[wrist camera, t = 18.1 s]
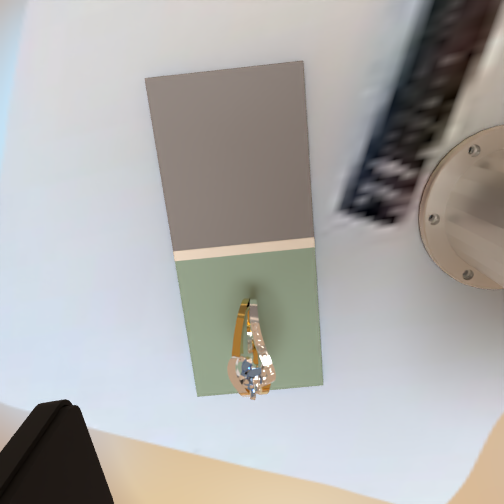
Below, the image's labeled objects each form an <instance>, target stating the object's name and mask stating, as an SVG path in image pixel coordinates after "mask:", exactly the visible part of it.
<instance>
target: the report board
mask: <svg viewBox="0 0 504 504" xmlns="http://www.w3.org/2000/svg"><path fill="white" fill-rule="evenodd" d="M145 84H146V90H147V96H148V102H149V108H150V114H151V120H152V126H153V132H154V138H155V144H156V150H157V156H158V162H159V168H160V174H161V180H162V186H163V192H164V198H165V204H166V210H167V216H168V222H169V228H170V234H171V240H172V246H173V254H174V260H175V264H176V270H177V276H178V282H179V288H180V294H181V300H182V306H183V312H184V318H185V324H186V330H187V336H188V342H189V348H190V354H191V360H192V366H193V372H194V378H195V385H196V391H197V397H200V396H211V395H222V394H233V393H238V391H237V390H236V389H235V387H234V386H233V384H232V383H231V381H230V379H229V376H228V372H227V366H228V362H229V360H230V359H231V357H232V347H233V338H234V331H235V325H236V320H237V315H238V311H239V308H240V305H241V303H242V300H243V299H244V298H252V299H257V309H258V319H259V325H260V330H261V334H262V337H263V341H264V344H265V347H266V349H267V352H268V354H269V357H270V359H271V361H272V364H273V366H274V369H275V373H276V378H275V381H274V382H272V383H271V386H270V390H276V389H287V388H298V387H309V386H319V385H323V375H322V359H321V342H320V326H319V310H318V294H317V278H316V262H315V243H314V229H313V213H312V197H311V181H310V165H309V149H308V132H307V116H306V100H305V84H304V68H303V61H296V62H287V63H278V64H269V65H260V66H251V67H242V68H233V69H224V70H215V71H206V72H197V73H188V74H179V75H171V76H162V77H153V78H145ZM243 352H244V354H245V355H246V356H248V334H247V316H246V320H245V326H244V335H243ZM258 363H259V364H260V365H261V364H262V362H261V360H260V357H259V355H258ZM241 365H242V362H239V363H238V370H239V373H240V371H241ZM255 391H256V387H255Z"/></svg>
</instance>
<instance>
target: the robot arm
mask: <svg viewBox="0 0 504 504" xmlns="http://www.w3.org/2000/svg"><path fill="white" fill-rule="evenodd" d="M470 147H471V152H470V153H468V150H469V148H470ZM431 215H432V218H431V219H430V220H428V219H429V217H430V216H431ZM419 225H420V232H421V237H422V240H423V243H424V246H425V249H426V251H427V252H428V254H429V255H430V257H431V258H432V260H433V261H434V262H435V263H436V264H437V265H438V266H439V267H440V268H441V269H442V270H443V271H444V272H445V273H447V274H448V275H449V276H451V277H452V278H453V279H455V280H457V281H459V282H461V283H463V284H465V285H469V286H472V287H476V288H481V289H493V290H494V289H504V125H500V126H496V127H493V128H489V129H486V130H483V131H481V132H479V133H477V134H475V135H473V136H471V137H469V138H467V139H466V140H464V141H463V142H462V143H460V144H459V145H458V146H456V147H455V148H453V149H452V150H451V151H450V152H449V153H448V154H447V156H446V157H445V158H444V159H443V160H442V161H441V162H440V163H439V165H438V166H437V168H436V169H435V171H434V172H433V173H432V175H431V177H430V179H429V181H428V183H427V185H426V188H425V190H424V193H423V197H422V201H421V204H420V214H419ZM464 271H465V272H464ZM463 272H464V273H463ZM0 504H114V502H113V498H112V495H111V493H110V490H109V487H108V484H107V482H106V479H105V476H104V473H103V471H102V468H101V465H100V462H99V460H98V457H97V454H96V452H95V448H94V446H93V443H92V440H91V437H90V435H89V432H88V429H87V426H86V424H85V421H84V418H83V415H82V412H81V410H80V408H79V407H78V406H77V405H72V403H71V402H70V401H69V400H66V399H65V400H59V401H52V402H46V403H41V404H38V405H37V406H36V407H35V408H34V409H33V411H32V412H31V413H30V415H29V416H28V417H27V419H26V420H25V421H24V422H23V424H22V425H21V426H20V428H19V429H18V430H17V431H16V433H15V434H14V436H13V437H12V438H11V439H10V441H9V442H8V443H7V445H6V446H5V447H4V448H3V450H2V451H1V452H0Z"/></svg>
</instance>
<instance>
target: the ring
mask: <svg viewBox="0 0 504 504" xmlns="http://www.w3.org/2000/svg"><path fill="white" fill-rule="evenodd" d="M246 316H247V334H248V356H246V355H245V354H244V352H243V335H244V326H245V320H246ZM258 355H259V357H260V360H261V362H262V364H261V365H260V364H259V363H258ZM239 362H242V365H241V371H240V373H239V370H238V363H239ZM227 372H228V376H229V379H230V381H231V383H232V384H233V386H234V387H235V389H236V390H237V391H238V393H239V394H240V395H241V396H242V397H250V399H252V400H255V398H256V393H257V394H259V395H263V394H268V392H269V390H270V386H271V383H272V382H274V381H275V378H276V373H275V369H274V366H273V364H272V361H271V359H270V357H269V354H268V352H267V349H266V347H265V344H264V341H263V337H262V334H261V330H260V325H259V319H258V309H257V299H252V298H244V299H243V300H242V303H241V305H240V308H239V311H238V315H237V320H236V325H235V331H234V338H233V347H232V357H231V359H230V360H229V362H228V366H227ZM255 387H256V392H255Z"/></svg>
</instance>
